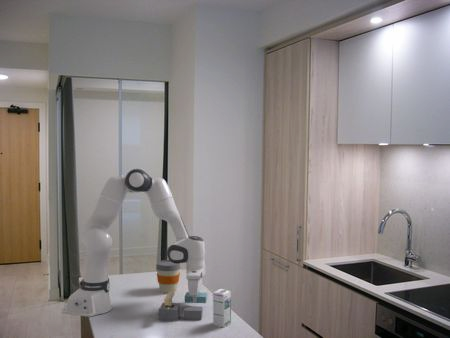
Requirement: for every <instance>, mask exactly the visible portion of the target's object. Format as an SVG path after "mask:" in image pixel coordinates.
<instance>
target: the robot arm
mask: <svg viewBox="0 0 450 338" xmlns="http://www.w3.org/2000/svg"><path fill="white" fill-rule="evenodd" d="M128 193H135V194H139V193H145V194H146V196H147V197H148V200H149V203H150V208H151V210H152V212H153V214H154V215H155V217H156V218H158V219H160V220H163V221H165V222H167V223H168V224H169V225H170V227H171V229H172V231H173V234H174V236H175V239H176V242H174V243H172V244H171V245H169V246H168V247H167V250H166V257H167V260H170V261H171V262H172V263H175V264H177V263H180V264H186V280H187V289H188V292H189V296H192V298H193V303H192V304H197V303H196V302H197V295H198V292H199V293H200V289H201V287H202V284H203V276H205V275H206V261H205V257H206V245H205V244H206V243H205V241H204V239H203V238H202V237H201V236H197V235H189V233H188V230H187V228H186V225H185V222H184V220H183V219H182V216H181V213H180V212H179V210H178V207H177V205H176V203H175V200H174V197H173V194H172V191H171V189H170V186H169V185H168V183H167V181H166V180H165V179H164V178H162V177H155V178H152V177H151V176H150V175H149V174H148V173H147V172H146V171H144V170H142V169H141V168H134V169H131V170H129V171H128V172H127V173H126V175H125V177H120V176H110V177H109V178H108V180H106V183H104V186H103V188H102V189H101V192H100V193H99V197H98V199H97V201H96V204H95V207H94V209H93V211H92V213H91V215H90V216H89V218H88V220H87V222H86V223H85V224H84V227H82V229H81V231H80V233H79V238H80V242H81V243H82V245H83V246H85V250H86V252H85V257H84V262H83V278H82V279H81V280H80V281H79V282H78V287H79V288H78V289H76V290H75V291H74V292H73V293H72V294H70V296H69V297H68V299H67V301H66V304H65V305H64V306H63V307H62V309H61V314H63V315H72V316H80V317H86V318H87V317H94V316H97V315H102V314H106V313H108V312H110V311H111V310H112V309H113V306H112V302H111V296H110V287H111V285H110V278H109V259H110V254H111V249H112V247H113V246H112V245H113V238H112V236H111V234H110V232H109V229H110V228H111V226H112V224H113V223H114V222H115V221H116V220H117V218H118V216H119V213H120V210H121V208H122V205H123V202H124V200H125V197H126V196H127V194H128Z"/></svg>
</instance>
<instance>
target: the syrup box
mask: <svg viewBox="0 0 450 338" xmlns="http://www.w3.org/2000/svg"><path fill="white" fill-rule="evenodd" d="M231 294H232V292H231V290H229V289H224V288H219V289H217V290H216V291H213V292H212V320H213V321H212V323H213V325H214V326H215V327H220V328H226V327H227V326H229V325H231V323H232V305H231V303H232V300H231V299H232V298H231V297H232V296H231Z"/></svg>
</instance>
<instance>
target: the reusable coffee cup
mask: <svg viewBox="0 0 450 338" xmlns="http://www.w3.org/2000/svg"><path fill="white" fill-rule="evenodd" d="M155 267H156V268H155V269H156V272H157V273H156V277H157V279H156V280H157V283H158V288H159V292H160V294H168V293H169V291H170V289H175V293H176V292H177V291H178V283H179V282H180V274H181V273H180V269H181V263H177V264H175V263H172V262H171V261H170V260H169V259H163V260H159V261H157V262H156V266H155Z"/></svg>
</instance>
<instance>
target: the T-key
mask: <svg viewBox="0 0 450 338" xmlns="http://www.w3.org/2000/svg"><path fill="white" fill-rule="evenodd" d="M175 293H176V292H175V289H170V291H169V293H166V296H165V298H164V303H165V305H167V307H171V308H172V303H173V298H174V296H175Z"/></svg>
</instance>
